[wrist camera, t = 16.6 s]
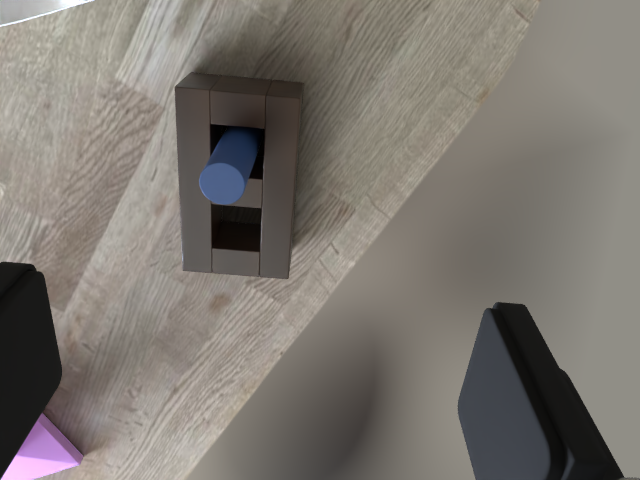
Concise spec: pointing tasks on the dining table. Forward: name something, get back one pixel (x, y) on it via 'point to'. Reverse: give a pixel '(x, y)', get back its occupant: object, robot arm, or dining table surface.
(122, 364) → the dining table surface
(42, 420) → the pink pedestal chair
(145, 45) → the dining table surface
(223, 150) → the blue cylinder
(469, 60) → the dining table surface
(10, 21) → the bracket
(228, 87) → the holder
